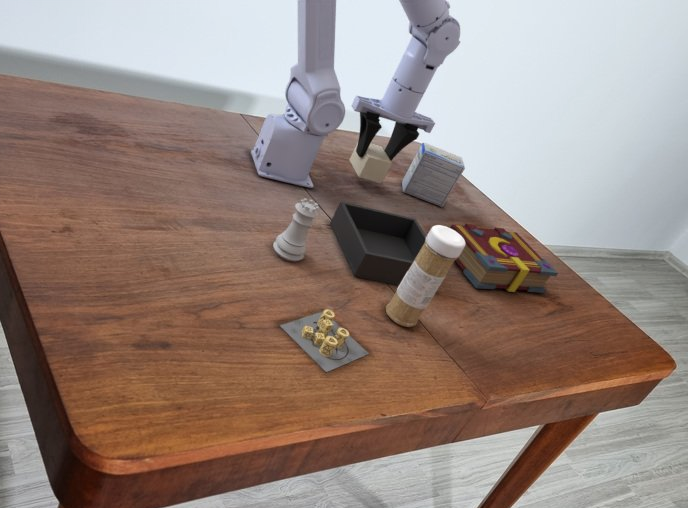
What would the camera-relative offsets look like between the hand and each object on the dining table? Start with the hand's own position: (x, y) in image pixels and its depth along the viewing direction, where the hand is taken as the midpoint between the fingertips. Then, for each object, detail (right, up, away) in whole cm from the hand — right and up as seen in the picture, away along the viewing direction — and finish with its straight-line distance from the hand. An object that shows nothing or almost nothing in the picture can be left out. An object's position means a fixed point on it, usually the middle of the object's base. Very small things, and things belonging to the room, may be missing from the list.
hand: (372, 158), depth 121 cm
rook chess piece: (-15, -17, -25) cm, 34 cm away
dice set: (-11, -28, -38) cm, 48 cm away
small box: (-1, -2, +1) cm, 3 cm away
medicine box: (+10, -5, +8) cm, 14 cm away
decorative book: (+19, -19, -6) cm, 27 cm away
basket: (-1, -17, -16) cm, 24 cm away
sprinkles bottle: (0, -26, -28) cm, 38 cm away
